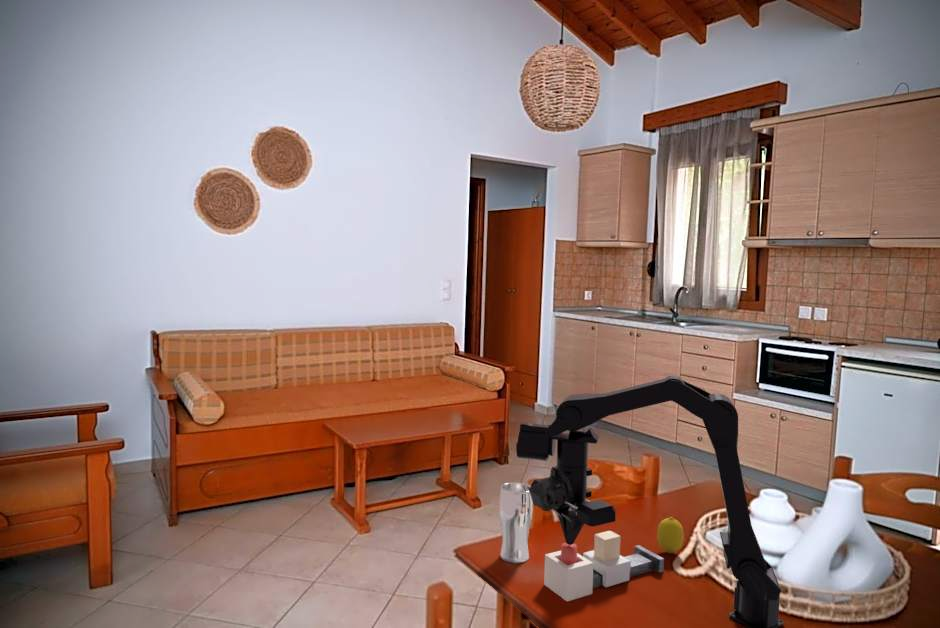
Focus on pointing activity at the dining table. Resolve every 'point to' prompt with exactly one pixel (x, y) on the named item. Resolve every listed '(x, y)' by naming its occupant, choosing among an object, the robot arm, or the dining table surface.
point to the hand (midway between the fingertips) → (569, 543)
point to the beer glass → (515, 521)
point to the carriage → (609, 559)
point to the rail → (637, 564)
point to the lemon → (670, 535)
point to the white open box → (568, 576)
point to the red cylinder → (568, 553)
